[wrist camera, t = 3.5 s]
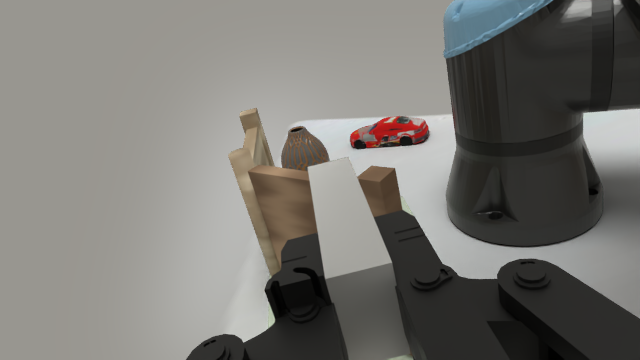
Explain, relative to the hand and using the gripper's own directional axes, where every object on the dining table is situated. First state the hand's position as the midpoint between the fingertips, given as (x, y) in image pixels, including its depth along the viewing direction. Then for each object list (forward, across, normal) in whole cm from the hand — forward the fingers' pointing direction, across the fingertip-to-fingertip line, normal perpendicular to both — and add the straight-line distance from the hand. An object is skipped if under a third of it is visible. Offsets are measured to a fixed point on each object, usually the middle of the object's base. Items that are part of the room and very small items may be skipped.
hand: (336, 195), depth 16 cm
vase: (+46, -3, -20) cm, 50 cm away
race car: (+55, +11, -20) cm, 59 cm away
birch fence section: (+27, -7, -20) cm, 34 cm away
